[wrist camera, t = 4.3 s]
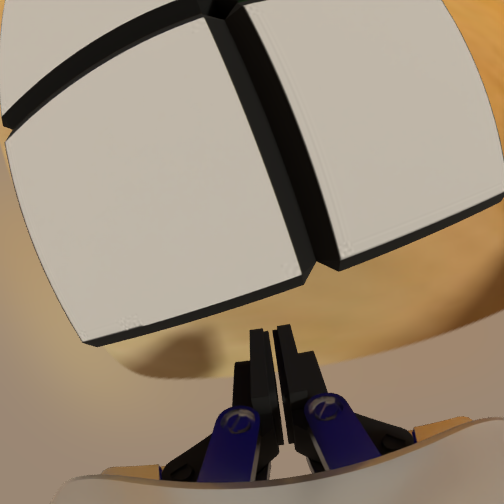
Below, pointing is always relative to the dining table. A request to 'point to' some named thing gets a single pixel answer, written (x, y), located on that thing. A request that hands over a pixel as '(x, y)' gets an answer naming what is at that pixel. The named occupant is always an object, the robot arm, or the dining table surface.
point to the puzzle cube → (233, 146)
